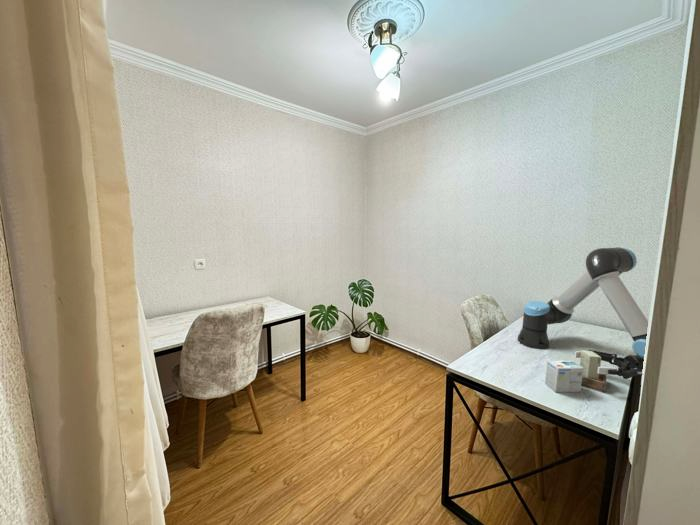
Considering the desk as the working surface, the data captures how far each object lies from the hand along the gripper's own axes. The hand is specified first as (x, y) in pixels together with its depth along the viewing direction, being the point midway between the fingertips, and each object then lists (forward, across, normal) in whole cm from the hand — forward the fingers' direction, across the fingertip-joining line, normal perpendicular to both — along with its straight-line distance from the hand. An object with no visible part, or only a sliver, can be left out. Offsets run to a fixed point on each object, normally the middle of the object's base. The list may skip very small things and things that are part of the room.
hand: (586, 361), depth 121 cm
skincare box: (-2, 0, -9) cm, 9 cm away
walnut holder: (-2, 0, -9) cm, 9 cm away
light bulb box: (+12, -6, -10) cm, 16 cm away
